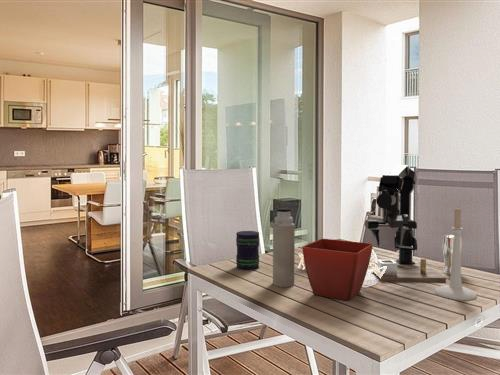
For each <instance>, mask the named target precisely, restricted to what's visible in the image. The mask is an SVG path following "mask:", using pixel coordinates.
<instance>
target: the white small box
mask: <svg viewBox="0 0 500 375" xmlns="http://www.w3.org/2000/svg"><path fill="white" fill-rule="evenodd" d="M377 262H378V266H379V267H380V268H381V267H383V266H387V269H386V271H385V273H384V274H383V275H397V269H398V262H397V261H396V260H394V259H377ZM377 262H376V263H377Z"/></svg>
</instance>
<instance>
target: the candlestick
mask: <svg viewBox="0 0 500 375" xmlns="http://www.w3.org/2000/svg"><path fill="white" fill-rule="evenodd" d="M453 222H454V224H453V226H452V227H451V229H452V233H453V235H454V236H455V237H454V242H453V254H452V266H451V274H450V277H449V278H450V279H449V284H446V285H445V284H444V285H441V286H438V287H436V288H435V290H434V294H435V295H437V296H439V297H441V298H444V297H445V299H448V298H449V300H455V301H472V300H475V299H477V293H475V291H473V290H472V289H470V288H468V287H466V286H463V285H462V264H461V263H462V262H461V261H462V259H461V258H462V256H461V254H462V250H461V251H460V236H461V234H462V230H463V229H464V228H463V227H461V225H462V208H461V207H455V208H454V219H453Z"/></svg>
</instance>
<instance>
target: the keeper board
mask: <svg viewBox="0 0 500 375" xmlns="http://www.w3.org/2000/svg"><path fill="white" fill-rule="evenodd" d="M419 264H420V268H397V275H383V276H382V277H381V279H380V282H393V283H394V282H399V283H400V282H405V283H406V282H407V283H410V282H411V283H412V282H413V283H419V282H420V283H423V282H424V283H425V282H426V283H429V282H430V283H446V282H447V278H446V277H445V276H444V275H442V274H441V273H439V272H438V271H436V270H434V269H433V268H427V259H426V258H420V263H419Z"/></svg>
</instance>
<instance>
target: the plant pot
mask: <svg viewBox="0 0 500 375" xmlns="http://www.w3.org/2000/svg"><path fill="white" fill-rule="evenodd" d="M372 252H373V243H369V242H362V241H361V242H359V241H351V240H350V241H349V240H341V239H332V238H320V239H317V240H315V241H313V242H310V243H307V244H305V245H302V256H303V261H304V266H305V271H306V274H307V279H308V281H309V284H310V288H311V291H312V294H313V295H315V296H321V297H327V298H331V299H338V300H343V301H351V300H352V299H353V298H354V297H356V296H357V295H358V294H359V293H360V292H361V290H362V287H363V285H364V282H365V279H366V276H367V272H368V269H369V265H370V260H371V256H372V254H373V253H372Z"/></svg>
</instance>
